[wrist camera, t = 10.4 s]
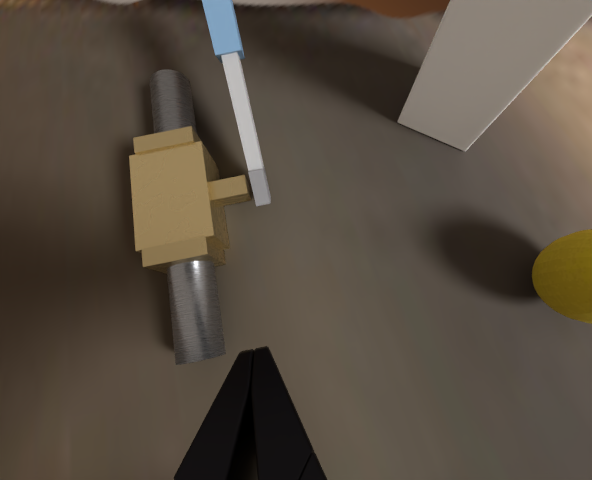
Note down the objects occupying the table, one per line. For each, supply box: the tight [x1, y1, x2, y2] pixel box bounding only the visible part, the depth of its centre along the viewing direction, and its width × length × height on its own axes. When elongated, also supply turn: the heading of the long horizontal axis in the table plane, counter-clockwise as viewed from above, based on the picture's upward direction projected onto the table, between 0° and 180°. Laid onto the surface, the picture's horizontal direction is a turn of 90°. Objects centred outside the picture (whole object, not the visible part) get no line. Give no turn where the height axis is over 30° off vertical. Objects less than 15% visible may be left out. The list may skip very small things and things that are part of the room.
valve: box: [129, 69, 251, 365], centre depth 23 cm, size 22×8×4 cm, turn 11°
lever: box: [202, 0, 271, 206], centre depth 20 cm, size 3×3×18 cm
